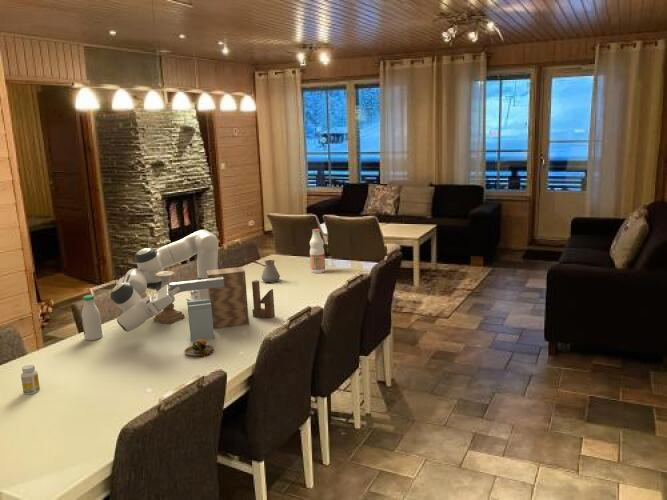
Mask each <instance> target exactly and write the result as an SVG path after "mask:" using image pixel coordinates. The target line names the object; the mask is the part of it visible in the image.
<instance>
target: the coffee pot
mask: <svg viewBox="0 0 667 500" xmlns="http://www.w3.org/2000/svg"><path fill="white" fill-rule="evenodd" d="M247 260H248V261H250V262H252V263H254V264H257V265H261V266H262V267H264V269H263V271H262V275H261V278H260V279H261V280H262V281H263V282H264V283H266V282H273V283H277V282H278V281H279V280H280V277H281V275H280V273H279V271H278V269H277V267H276V265H275V262H276V261H275V260H274V259H268V260H264V264H263V263H260V262H258V261H256V260H254V259H251V258H249V257H246V258H245V259H244V262H246V261H247ZM276 281H277V282H276Z"/></svg>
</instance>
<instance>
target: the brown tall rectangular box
mask: <svg viewBox="0 0 667 500" xmlns="http://www.w3.org/2000/svg"><path fill="white" fill-rule="evenodd" d="M218 277H223V279H224V287H217V288H209V289H208V293H209V299H210V303H211V309H212V320H213V330H216V329H223V328H230V327H238V326H244V325H246V326H247V325H249V324H250V320H249V307H248V294H247V280H246V270H245V269H244V268H243V266H238V267H228V268H218V269H217V270H208V271H207V279H210V278H218Z"/></svg>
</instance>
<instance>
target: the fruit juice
mask: <svg viewBox="0 0 667 500" xmlns="http://www.w3.org/2000/svg"><path fill="white" fill-rule="evenodd" d="M311 232H312V234H311V238H310V240H309V246H310V249H309V260H310V263H309V264H310V272H311V273H312V274H321V273H325V272H326V260H325V259H326V257H325V249H324V244H325V243H324V240H323V238H322V237H321V234H320V232H321V230H320V228H313V229H312V230H311Z"/></svg>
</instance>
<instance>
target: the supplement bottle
mask: <svg viewBox="0 0 667 500" xmlns="http://www.w3.org/2000/svg"><path fill="white" fill-rule="evenodd" d="M21 369H22V373H21V374H20V377H21V385H22V392H23V394H24V395H27V396H28V395H29V396H30V395H34V394H36V393H38V392H39V391H40V388H41V387H40V382H39V381H40V380H39V373H38V371H37V370H36V367H35V365H34V364H26V365H24V366H23V367H21Z"/></svg>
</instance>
